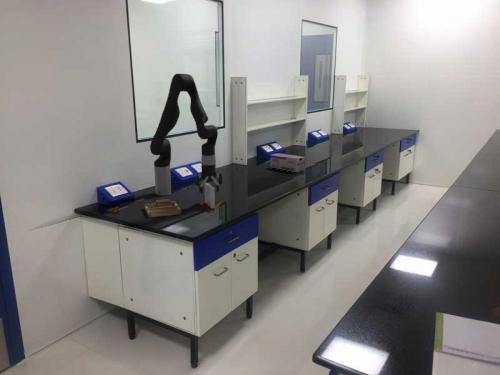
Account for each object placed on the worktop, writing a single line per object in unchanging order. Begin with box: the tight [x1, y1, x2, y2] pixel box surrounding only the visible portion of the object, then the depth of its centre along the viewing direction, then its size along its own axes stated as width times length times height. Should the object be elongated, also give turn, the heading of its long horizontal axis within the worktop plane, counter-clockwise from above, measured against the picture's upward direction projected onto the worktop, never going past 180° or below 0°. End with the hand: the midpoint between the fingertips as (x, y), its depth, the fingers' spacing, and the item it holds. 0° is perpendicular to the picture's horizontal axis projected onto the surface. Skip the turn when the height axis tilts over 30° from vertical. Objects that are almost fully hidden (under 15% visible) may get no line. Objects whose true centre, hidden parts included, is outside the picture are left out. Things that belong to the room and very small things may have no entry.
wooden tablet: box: [200, 198, 223, 214], centre depth 232 cm, size 26×2×10 cm
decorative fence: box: [106, 198, 146, 214], centre depth 230 cm, size 25×2×10 cm
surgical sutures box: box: [269, 152, 306, 173], centre depth 324 cm, size 25×11×11 cm, turn 47°
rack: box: [144, 200, 182, 218], centre depth 218 cm, size 15×16×4 cm
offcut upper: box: [155, 198, 172, 207], centre depth 221 cm, size 4×7×2 cm, turn 115°
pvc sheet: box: [204, 182, 216, 208], centre depth 229 cm, size 2×12×11 cm, turn 22°
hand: (209, 192), depth 229 cm, fingers open, 8 cm apart
